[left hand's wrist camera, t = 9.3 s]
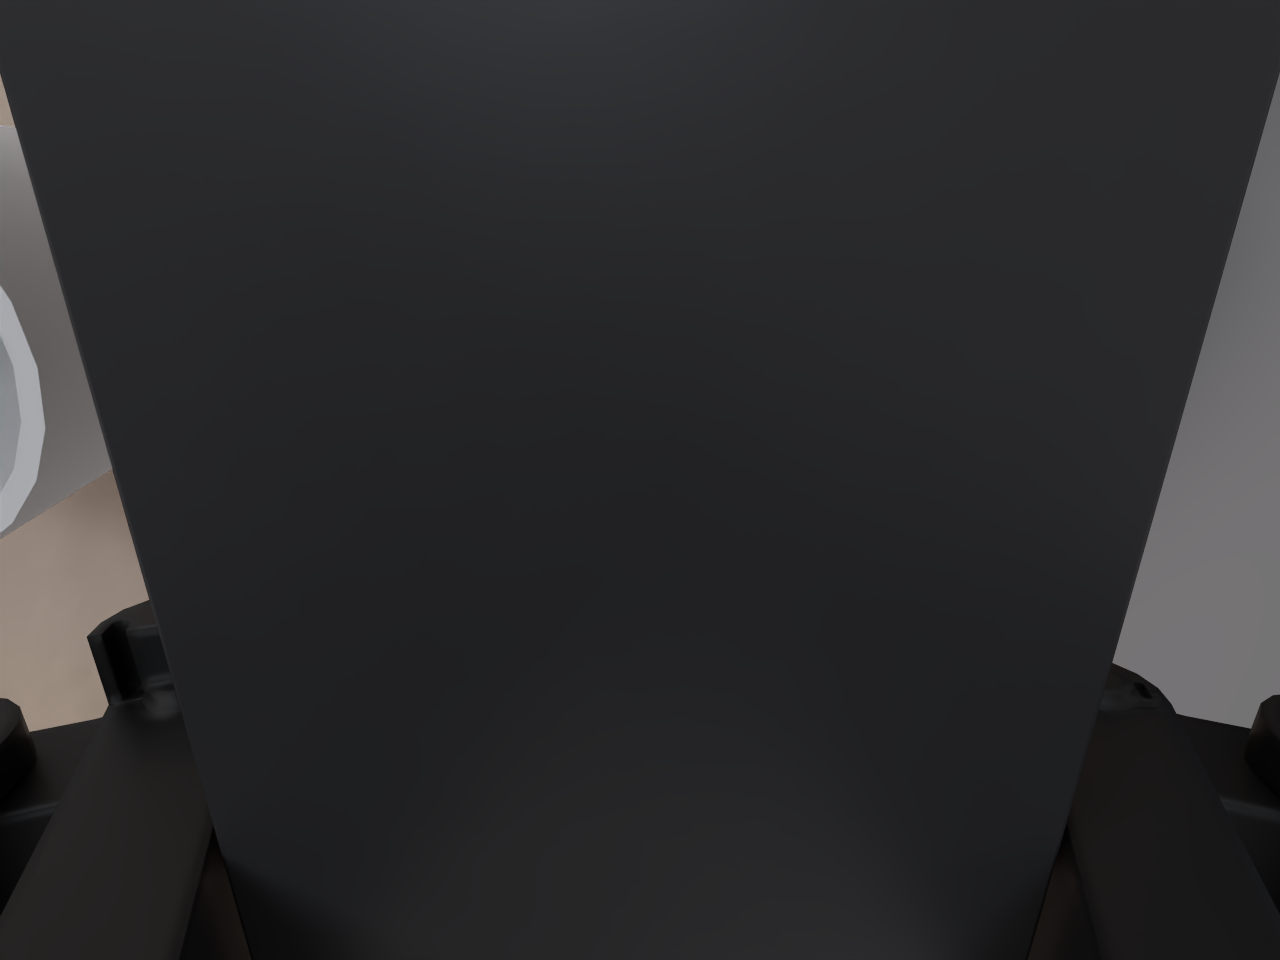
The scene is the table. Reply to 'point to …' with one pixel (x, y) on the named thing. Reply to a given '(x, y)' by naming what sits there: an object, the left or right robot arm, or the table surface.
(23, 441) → the mug
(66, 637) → the table surface
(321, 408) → the box
